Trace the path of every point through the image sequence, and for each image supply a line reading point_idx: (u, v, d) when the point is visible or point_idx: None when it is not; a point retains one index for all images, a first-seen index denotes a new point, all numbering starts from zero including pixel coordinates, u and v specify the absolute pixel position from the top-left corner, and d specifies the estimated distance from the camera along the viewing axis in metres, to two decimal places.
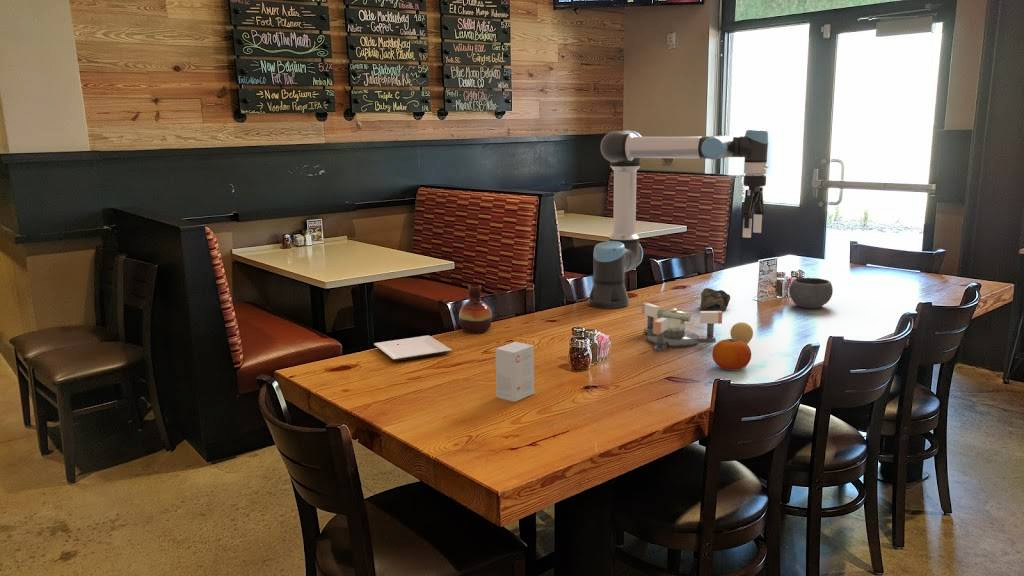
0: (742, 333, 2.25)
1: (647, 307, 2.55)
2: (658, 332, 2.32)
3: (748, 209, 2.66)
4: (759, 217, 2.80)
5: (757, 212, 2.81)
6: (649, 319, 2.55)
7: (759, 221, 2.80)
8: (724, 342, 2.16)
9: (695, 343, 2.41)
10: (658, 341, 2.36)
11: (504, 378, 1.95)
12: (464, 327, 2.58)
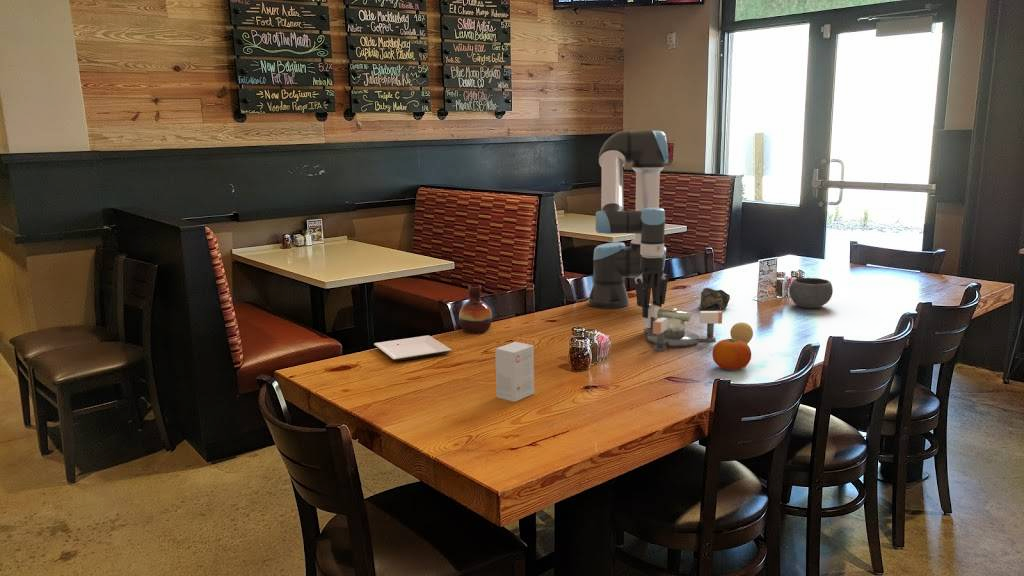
0: (742, 333, 2.25)
1: None
2: (658, 332, 2.32)
3: (640, 299, 2.51)
4: None
5: (654, 303, 2.56)
6: None
7: None
8: (724, 342, 2.16)
9: (695, 343, 2.41)
10: (658, 341, 2.36)
11: (504, 378, 1.95)
12: (464, 327, 2.58)
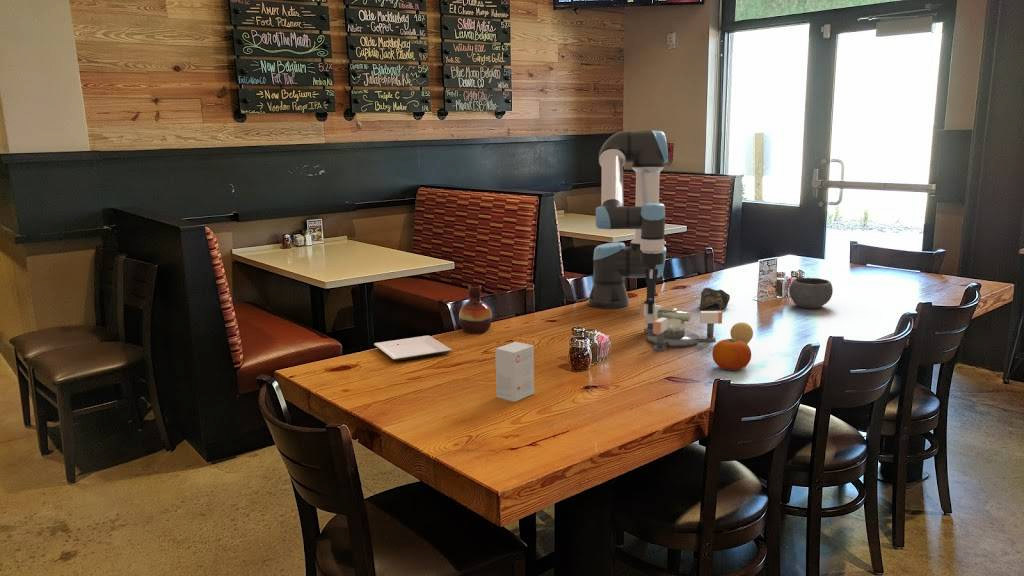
0: (742, 333, 2.25)
1: None
2: (658, 332, 2.32)
3: (652, 294, 2.46)
4: (653, 300, 2.58)
5: None
6: None
7: None
8: (724, 342, 2.16)
9: (695, 343, 2.41)
10: (658, 341, 2.36)
11: (504, 378, 1.95)
12: (464, 327, 2.58)
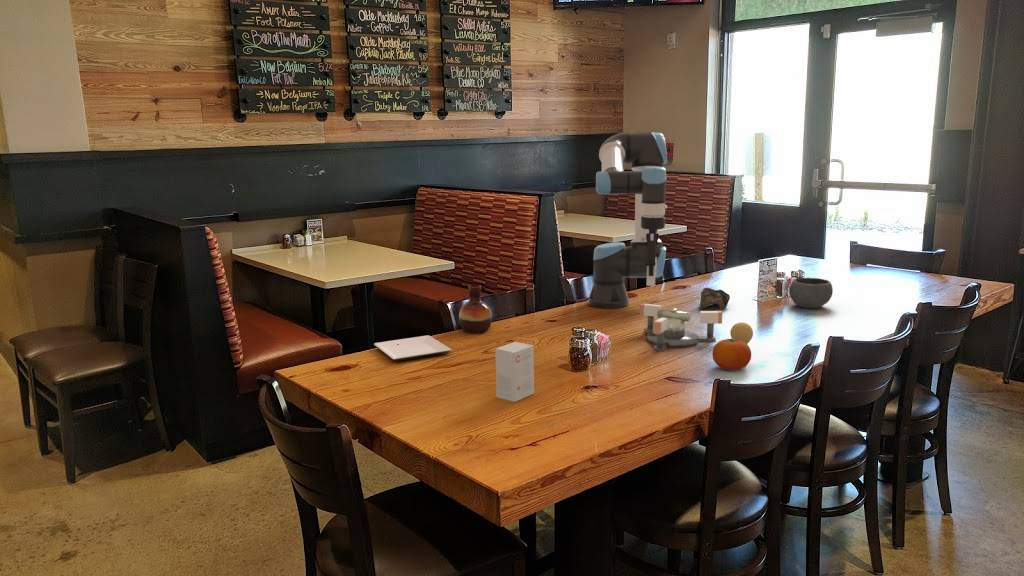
0: (742, 333, 2.25)
1: (648, 307, 2.54)
2: (658, 332, 2.32)
3: (653, 255, 2.42)
4: (654, 260, 2.58)
5: None
6: (651, 319, 2.54)
7: None
8: (724, 342, 2.16)
9: (695, 343, 2.41)
10: (658, 341, 2.36)
11: (504, 378, 1.95)
12: (464, 327, 2.58)
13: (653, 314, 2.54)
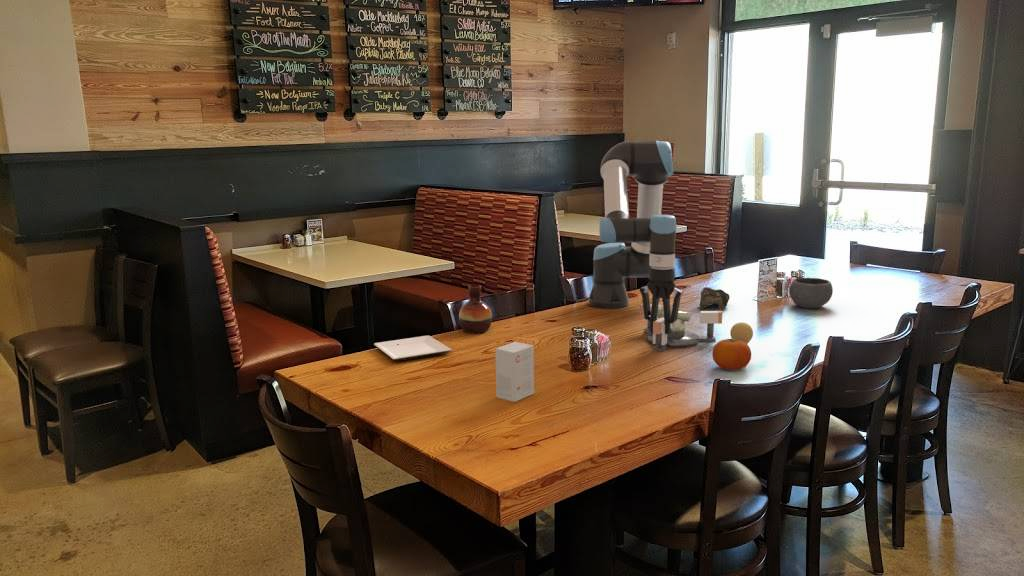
0: (742, 333, 2.25)
1: None
2: (658, 332, 2.32)
3: None
4: None
5: None
6: None
7: None
8: (724, 342, 2.16)
9: (695, 343, 2.41)
10: (658, 341, 2.36)
11: (504, 378, 1.95)
12: (464, 327, 2.58)
13: None
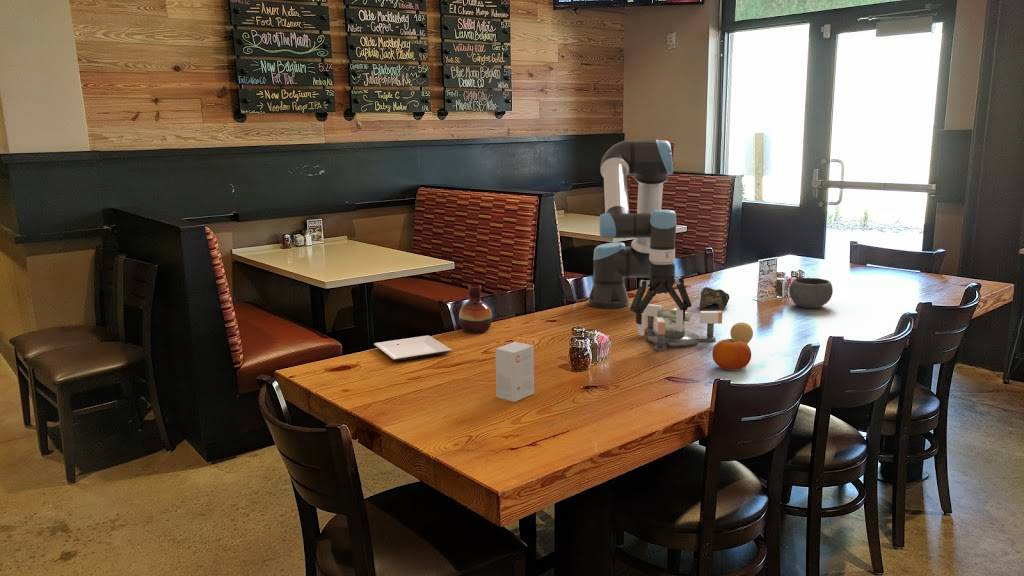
0: (742, 333, 2.25)
1: (648, 307, 2.54)
2: (664, 332, 2.32)
3: (635, 303, 2.30)
4: (679, 313, 2.36)
5: (680, 306, 2.37)
6: (651, 319, 2.54)
7: (679, 317, 2.36)
8: (724, 342, 2.16)
9: (695, 343, 2.41)
10: (660, 341, 2.35)
11: (504, 378, 1.95)
12: (464, 327, 2.58)
13: (653, 314, 2.54)
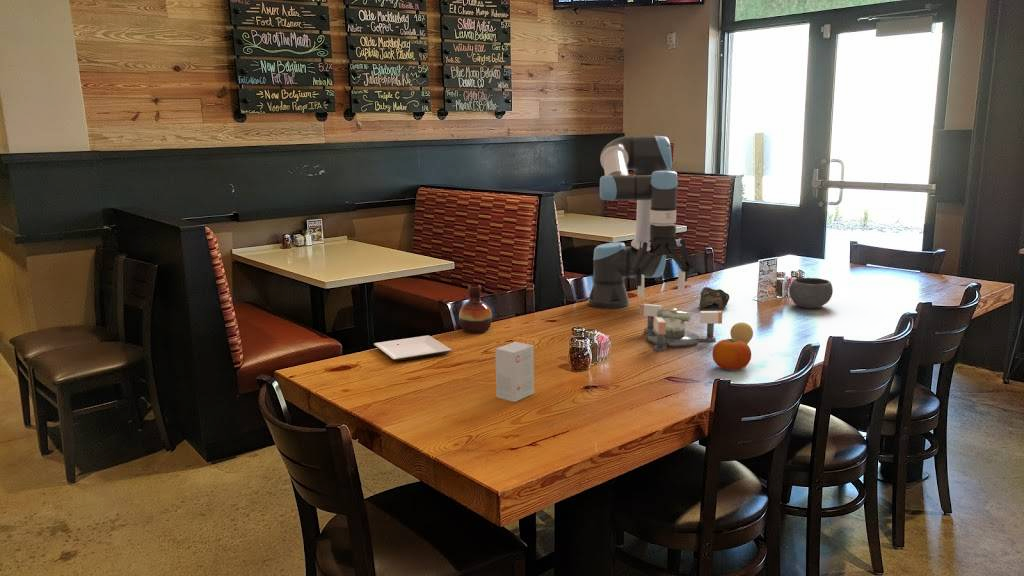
0: (742, 333, 2.25)
1: (648, 307, 2.54)
2: (664, 332, 2.32)
3: (635, 264, 2.28)
4: (681, 274, 2.34)
5: (682, 268, 2.34)
6: (651, 319, 2.54)
7: (681, 279, 2.34)
8: (724, 342, 2.16)
9: (695, 343, 2.41)
10: (660, 341, 2.35)
11: (504, 378, 1.95)
12: (464, 327, 2.58)
13: (653, 314, 2.54)
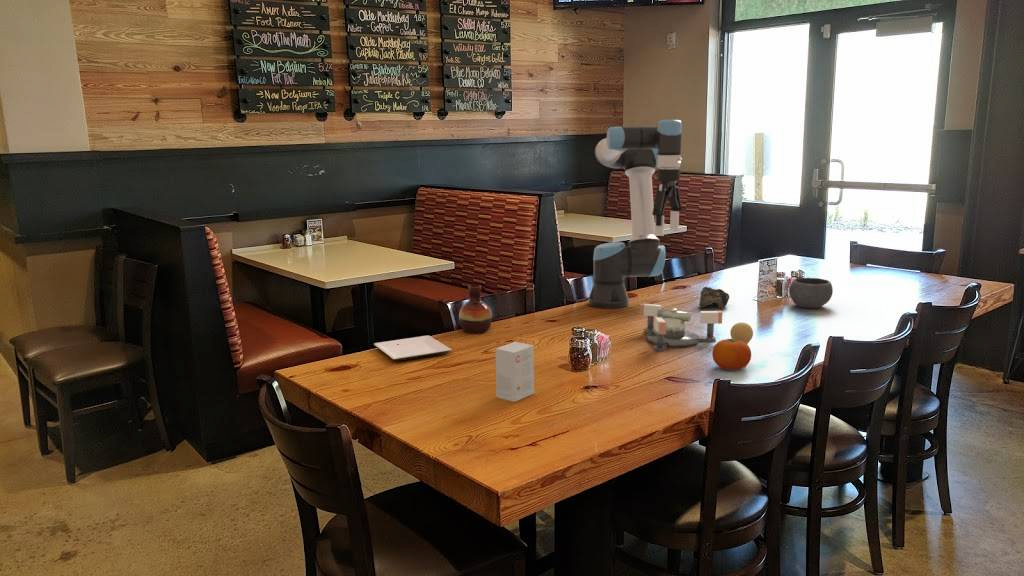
0: (742, 333, 2.25)
1: (648, 307, 2.54)
2: (664, 332, 2.32)
3: (659, 205, 2.48)
4: (676, 214, 2.62)
5: (674, 209, 2.62)
6: (651, 319, 2.54)
7: (676, 218, 2.62)
8: (724, 342, 2.16)
9: (695, 343, 2.41)
10: (660, 341, 2.35)
11: (504, 378, 1.95)
12: (464, 327, 2.58)
13: (653, 314, 2.54)
